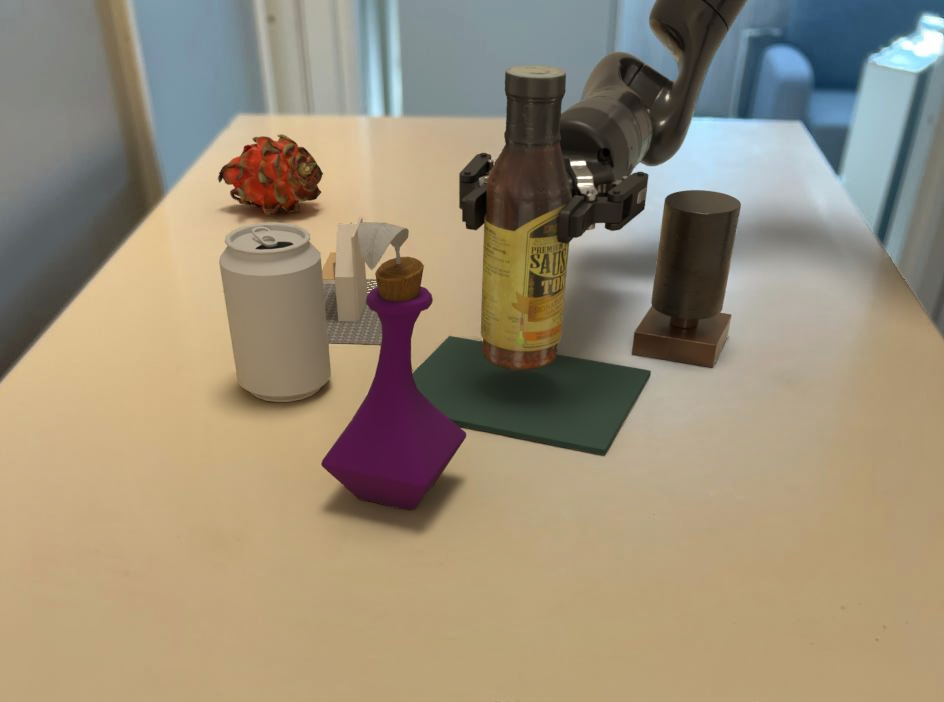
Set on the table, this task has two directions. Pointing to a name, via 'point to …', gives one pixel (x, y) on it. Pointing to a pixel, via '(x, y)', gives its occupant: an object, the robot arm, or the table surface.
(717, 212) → the dark brown piece
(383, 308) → the perfume bottle
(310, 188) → the dragon fruit
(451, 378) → the mat
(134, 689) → the table surface
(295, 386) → the can
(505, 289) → the sauce bottle
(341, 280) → the architectural model
